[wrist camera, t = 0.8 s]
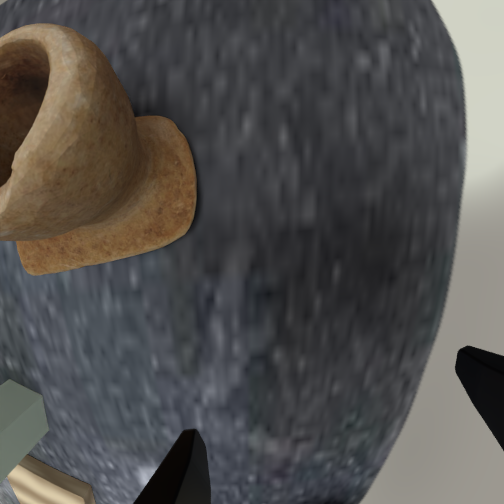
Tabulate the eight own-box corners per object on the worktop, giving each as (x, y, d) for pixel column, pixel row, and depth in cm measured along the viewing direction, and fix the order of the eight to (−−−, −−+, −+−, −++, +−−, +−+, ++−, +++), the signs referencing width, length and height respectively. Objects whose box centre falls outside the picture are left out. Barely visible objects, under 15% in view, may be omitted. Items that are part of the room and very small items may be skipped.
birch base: (104, 534, 28) (99, 545, 26) (28, 497, 29) (22, 506, 26) (90, 485, 27) (83, 497, 24) (5, 441, 27) (-5, 450, 24)
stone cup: (186, 85, 21) (98, -46, 6) (211, 243, 22) (118, 301, 8) (28, 140, 22) (-105, 112, 7) (44, 273, 23) (-94, 321, 8)
